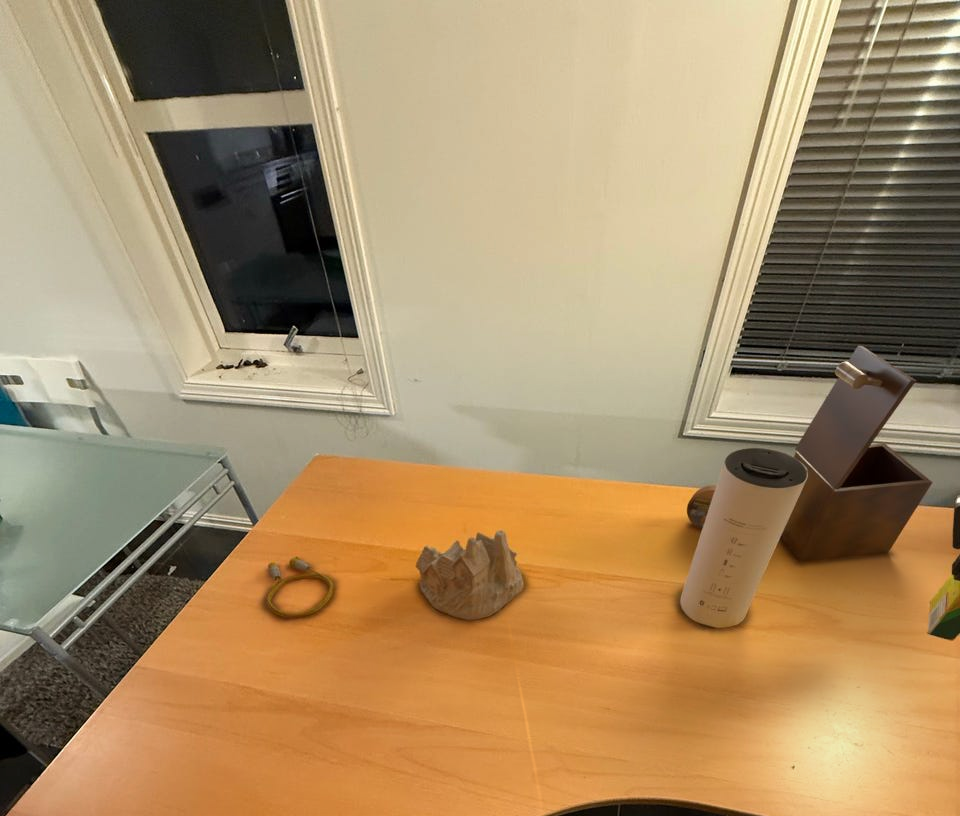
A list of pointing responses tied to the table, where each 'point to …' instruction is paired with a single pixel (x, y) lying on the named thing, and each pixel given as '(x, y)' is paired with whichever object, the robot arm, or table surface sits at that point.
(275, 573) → the extension cord
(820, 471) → the lid
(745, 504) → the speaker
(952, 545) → the robot arm
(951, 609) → the crayon box
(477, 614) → the ceramic cottage
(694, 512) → the tin
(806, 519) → the chest
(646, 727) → the table surface
